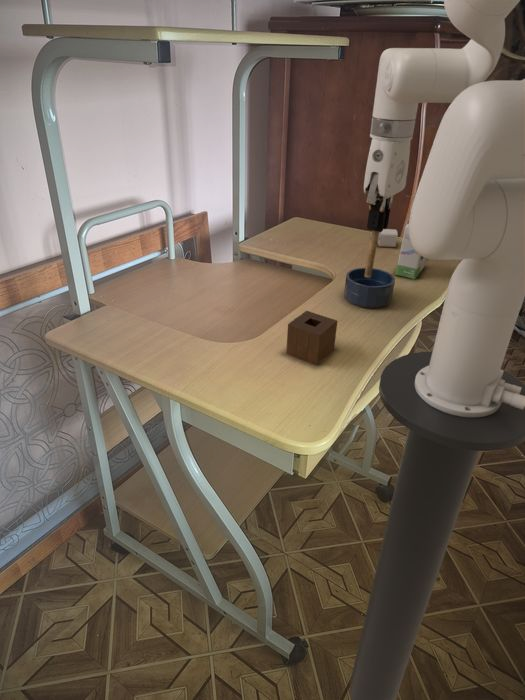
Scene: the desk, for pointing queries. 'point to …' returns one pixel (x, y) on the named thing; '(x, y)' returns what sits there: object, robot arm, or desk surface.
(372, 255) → the stick
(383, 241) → the usb wall charger
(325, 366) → the desk surface
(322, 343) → the holder
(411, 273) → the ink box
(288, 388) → the desk surface
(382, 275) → the bowl
